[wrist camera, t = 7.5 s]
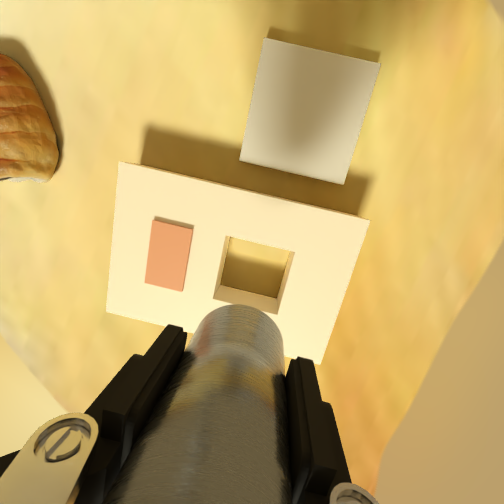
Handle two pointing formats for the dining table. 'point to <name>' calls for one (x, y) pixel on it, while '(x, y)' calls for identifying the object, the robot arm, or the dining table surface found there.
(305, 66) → the pad
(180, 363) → the peg
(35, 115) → the pastry
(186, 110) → the dining table surface
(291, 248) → the board
